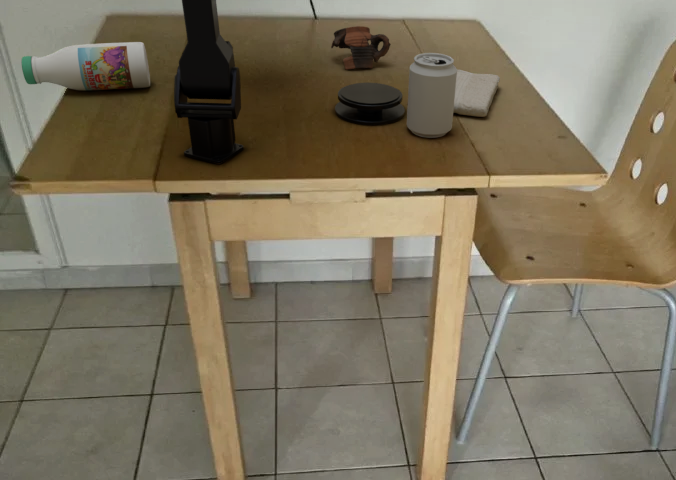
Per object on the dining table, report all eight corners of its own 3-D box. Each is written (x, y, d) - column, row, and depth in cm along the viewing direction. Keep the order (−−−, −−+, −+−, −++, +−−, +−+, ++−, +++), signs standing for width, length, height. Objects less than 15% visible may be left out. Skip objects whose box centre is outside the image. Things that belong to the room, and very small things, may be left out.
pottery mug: (330, 72, 140) (323, 29, 139) (343, 79, 149) (337, 39, 148) (389, 61, 138) (383, 17, 137) (398, 69, 147) (393, 28, 146)
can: (448, 142, 114) (454, 67, 107) (402, 136, 115) (405, 62, 108) (454, 124, 120) (461, 53, 113) (410, 119, 121) (414, 48, 114)
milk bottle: (151, 79, 131) (33, 86, 126) (144, 36, 127) (22, 41, 122) (151, 92, 125) (27, 100, 120) (143, 48, 121) (14, 53, 116)
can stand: (386, 130, 117) (387, 110, 115) (322, 116, 120) (321, 97, 118) (415, 107, 126) (416, 88, 124) (354, 94, 129) (354, 76, 127)
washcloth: (499, 86, 136) (501, 70, 134) (487, 121, 122) (489, 103, 120) (438, 79, 138) (439, 63, 136) (419, 112, 124) (420, 94, 122)
